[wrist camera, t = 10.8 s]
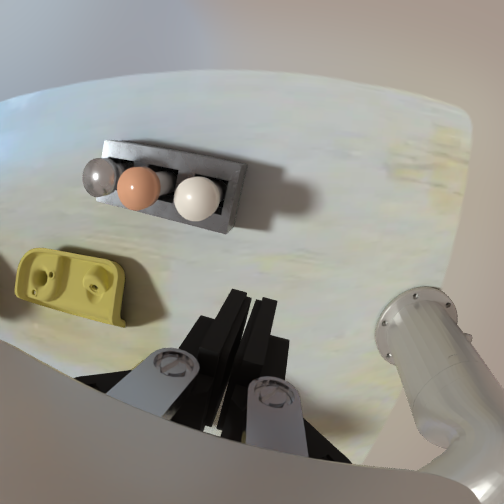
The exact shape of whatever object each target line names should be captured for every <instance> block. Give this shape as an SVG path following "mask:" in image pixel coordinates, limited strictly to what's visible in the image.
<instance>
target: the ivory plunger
mask: <svg viewBox="0 0 504 504" xmlns="http://www.w3.org/2000/svg"><path fill="white" fill-rule="evenodd" d="M226 191H227V186H226V184H225V183H224V182H223V181H221V180H212V181H211V180H210V179H208V178H205V177H192V178H188V179H186V180H184V181H182V182H181V183H180V184H179V186H178V187H177V189H176V191H175V195H174V203H175V207H176V209H177V211H178V212H179V214H180V215H181V216H182V217H184V218H185V219H187V220H190V221H202V220H204V219H206V218H208V217H209V216H211V215H212V214H213V213H214V212H215V211H216V210H217V208H218V206H219V202H221V201H222V200H224V199H225V196H226Z"/></svg>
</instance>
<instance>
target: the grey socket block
mask: <svg viewBox="0 0 504 504" xmlns="http://www.w3.org/2000/svg"><path fill="white" fill-rule="evenodd" d="M102 158H109V159H111V160H113V161H114V162H115V163H116V164H118V163H123V159H125V160H130V161H134V167H148V168H150V169H152V170H153V171H154V172H161V167H167V168H172V169H177V170H179V172H178V177H177V182H176V188H175V191H176V189H177V187H178V186H179V184H180V183H181V182H182V181H184V180H186V179H188V178H192V177H204V176H209V177H214V178H218V179H223V180H227V181H229V182H228V186H227V191H226V196H225V200H224V205H223V208H220V207H218V208H217V210H216V211H215V212H214V213H213V214H212V215H211V216H209V217H208V218H206V219H204V220H202V221H190V220H187V219H185V218H184V217H182V216H181V215H180V214H179V212H178V211H177V209H176V207H175V203H174V196H170V195H165V194H164V195H161V196H159V197H158V199H157V201H156V202H155V203H154V204H153V205H152V206H150V207H148V208H145V209H142V210H137V211H138V212H142V213H146V214H149V215H153V216H157V217H161V218H165V219H169V220H173V221H177V222H181V223H184V224H188V225H192V226H196V227H200V228H204V229H208V230H211V231H215V232H219V233H223V234H227V233H228V232H229V231H230V230H231V229H232V228H233V227H234V223H235V218H236V214H237V209H238V205H239V200H240V196H241V191H242V187H243V182H244V178H245V174H246V169H247V164H243V163H239V162H234V161H229V160H225V159H220V158H215V157H211V156H206V155H201V154H196V153H190V152H185V151H180V150H174V149H169V148H163V147H158V146H152V145H146V144H139V143H133V142H127V141H117V140H105V141H104V147H103V153H102ZM174 195H175V193H174ZM96 201H98V202H102V203H106V204H110V205H114V206H118V207H122V208H126V209H128V208H127V207H125V206H124V205H123V204H122V202H121V201H120V199H119V197H118V193H117V188H116V190H115V191H114V192H113V193H111V194H109V195H106V196H102V197H97V198H96ZM134 211H135V210H134Z"/></svg>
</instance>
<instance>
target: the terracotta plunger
mask: <svg viewBox="0 0 504 504" xmlns="http://www.w3.org/2000/svg"><path fill="white" fill-rule="evenodd" d="M176 182H177V175H176V174H175V173H174V172H172V171H161V172H154V171H153V170H152V169H150V168H148V167H133V168H129V169H127V170H126V171H124V172H123V173H122V175H121V176H120V178H119V180H118V184H117V193H118V197H119V199H120V201H121V202H122V204H123V205H124V206H125V207H127V208H128V209H130V210H135V211H137V210H142V209H145V208H148V207H150V206H152V205H153V204H154V203H155V202H156V201H157V199H158V197H159V196H161V195H164V194H168V193H171V192H173V191H175V188H176Z"/></svg>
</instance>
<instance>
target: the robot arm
mask: <svg viewBox="0 0 504 504" xmlns="http://www.w3.org/2000/svg"><path fill="white" fill-rule="evenodd" d="M414 294H415V295H414ZM246 296H247V293H246V292H243V291H239V290H236V289H232V290H231V292H230V294H229V295H228V297H227V299H226V301H225V302H224V304H223V306H222V308H221V309H220V311H219V313H218V315H217V317H216V318H215V319H212V318H209V317H205V316H200V317H199V319H198V320H197V322H196V323H195V325H194V326H193V328H192V329H191V331H190V332H189V334H188V335H187V337H186V338H185V340H184V341H183V343H182V344H181V346H180V347H179V349H176V348H162V349H159V350H156V351H155V352H153V353H151V354H150V355H149V356H148V357H147V358H146V359H145V360H143V361H142V362H141V363H140V364H139V365H138V366H137V367H136V368H134V369H133V370H127V371H120V372H113V373H105V374H97V375H89V376H80V377H76V378H72V377H70V376H68V375H66V374H64V373H62V372H60V371H58V370H57V369H55V368H53V367H51V366H49V365H48V364H46V363H44V362H42V361H40V360H38V359H36V358H35V357H33V356H31V355H29V354H27V353H26V352H24V351H22V350H20V349H19V348H17V347H15V346H13V345H11V344H9V343H7V342H5V341H2V340H0V504H504V389H503V388H502V386H501V385H500V383H499V382H498V381H497V380H496V378H495V377H494V375H493V374H492V372H491V371H490V369H489V368H488V367H487V365H486V364H485V362H484V361H483V359H482V358H481V357H480V355H479V354H478V353H477V351H476V350H475V348H474V347H473V346H472V344H471V341H472V335H470V334H466V333H463V332H462V331H461V329H460V328H459V327H458V325H457V311H456V308H455V305H454V303H453V302H452V300H451V299H450V298H449V297H448V296H447V295H446V294H445V293H444V292H442V291H440V290H438V289H435V288H432V287H418V288H413V289H410V290H407V291H405V292H404V293H402V294H400V295H398V296H397V297H396V298H394V299H393V300H392V301H391V302H390V303H389V304H388V305H387V306H386V307H385V309H384V310H383V312H382V313H381V315H380V317H379V319H378V321H377V325H376V329H375V340H376V345H377V348H378V350H379V352H380V354H381V356H382V357H383V358H384V359H385V360H386V361H388V362H389V363H390V364H393V365H395V366H396V368H397V370H398V373H399V376H400V379H401V382H402V385H403V388H404V390H405V393H406V396H407V399H408V402H409V406H410V409H411V412H412V415H413V418H414V421H415V424H416V427H417V429H418V431H419V432H420V434H421V435H422V436H423V437H424V438H425V439H426V440H427V441H429V442H430V443H432V444H434V445H436V446H439V447H442V448H445V449H447V450H446V451H445V452H443V453H442V454H441V455H440V456H438V457H437V458H435V459H434V460H432V461H431V462H430V463H429V464H427V465H426V466H424V467H422V468H421V469H419V470H417V471H414V470H407V469H395V468H384V467H375V466H366V465H356V464H352V463H351V462H350V460H349V459H348V458H347V457H346V456H345V455H343V454H342V453H341V452H340V451H339V450H338V449H337V448H336V447H334V446H333V445H332V444H331V443H330V442H329V441H328V440H327V439H326V438H325V437H323V436H322V435H321V434H320V433H319V432H318V431H317V430H316V429H315V428H314V427H313V426H312V425H311V424H309V423H308V422H307V421H306V420H305V419H304V418H303V415H302V408H301V401H300V396H299V393H298V391H297V390H296V389H295V387H294V386H293V385H291V384H290V383H289V382H287V381H285V375H286V367H287V358H288V350H289V340H287V339H284V338H280V337H276V336H272V335H270V333H271V328H272V324H273V319H274V315H275V310H276V305H277V301H276V300H272V299H268V298H265V297H263V298H262V301H261V300H257V299H256V301H255V304H254V306H253V309H252V312H251V315H250V318H249V320H248V323H247V326H246V328H245V331H244V327H245V323H246V319H247V315H248V311H249V307H250V303H251V298H250V297H246ZM383 321H384V322H383ZM243 331H244V334H243ZM242 335H243V337H242ZM241 338H242V339H241ZM228 381H229V382H228ZM227 384H228V386H227ZM226 387H227V390H226V393H225V397H224V401H223V405H222V409H221V413H220V417H219V421H218V425H217V429H219V430H222V433H221V437H219V436H216V435H212V434H209V433H206V432H203V430H204V428H205V425H206V426H209V427H212V424H213V422H214V419H215V416H216V414H217V411H218V408H219V406H220V403H221V400H222V397H223V395H224V392H225V389H226Z"/></svg>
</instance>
